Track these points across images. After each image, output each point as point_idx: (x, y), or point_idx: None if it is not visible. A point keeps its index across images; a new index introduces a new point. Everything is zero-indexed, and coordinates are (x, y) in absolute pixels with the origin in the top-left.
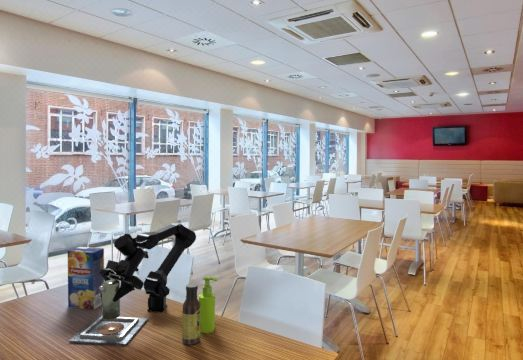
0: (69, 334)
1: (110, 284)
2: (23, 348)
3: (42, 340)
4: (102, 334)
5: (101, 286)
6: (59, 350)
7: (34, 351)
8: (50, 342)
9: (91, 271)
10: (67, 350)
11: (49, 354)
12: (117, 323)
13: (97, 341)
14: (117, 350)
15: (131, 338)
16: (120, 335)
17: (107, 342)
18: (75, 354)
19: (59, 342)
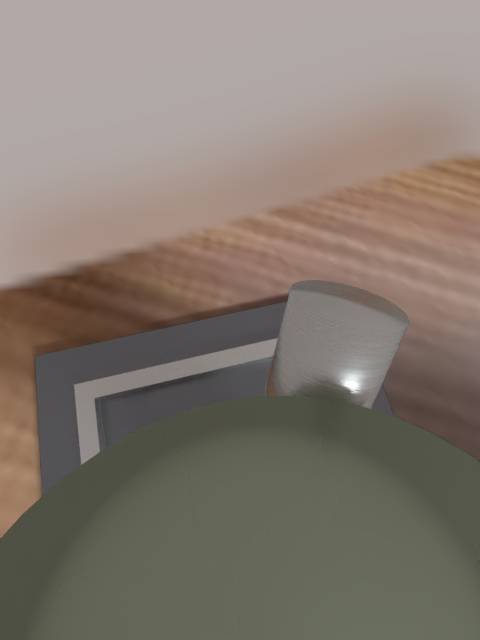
0: (417, 361)
1: (142, 568)
2: (471, 201)
3: (473, 272)
4: (207, 370)
5: (342, 311)
6: (322, 232)
7: (408, 198)
8: (423, 269)
9: None
10: (290, 242)
11: (332, 198)
12: None
13: (201, 326)
14: (63, 311)
15: (43, 436)
16: (92, 397)
17: (143, 335)
18: (231, 228)
19: (386, 282)
